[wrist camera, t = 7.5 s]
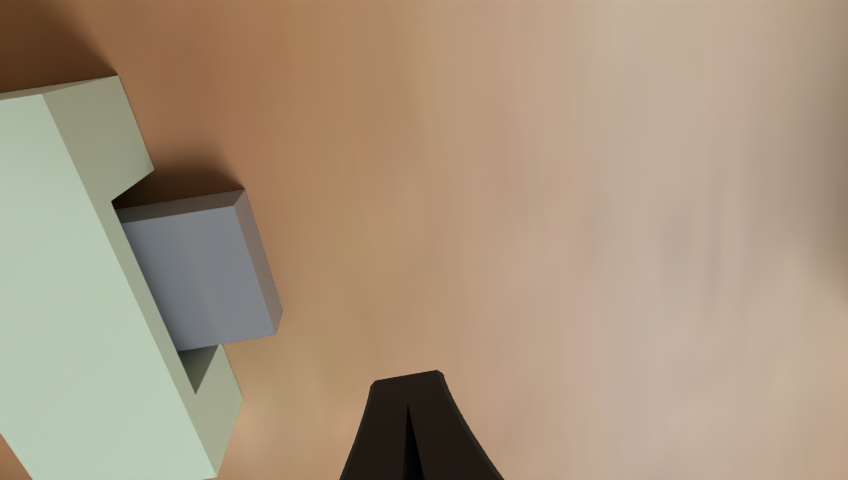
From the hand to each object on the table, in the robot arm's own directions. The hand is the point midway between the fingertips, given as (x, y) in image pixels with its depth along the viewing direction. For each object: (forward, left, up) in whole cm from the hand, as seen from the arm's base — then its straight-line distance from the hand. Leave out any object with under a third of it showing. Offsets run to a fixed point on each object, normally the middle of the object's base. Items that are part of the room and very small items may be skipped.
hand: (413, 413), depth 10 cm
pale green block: (-8, +6, -9) cm, 14 cm away
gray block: (-7, +5, -10) cm, 13 cm away
